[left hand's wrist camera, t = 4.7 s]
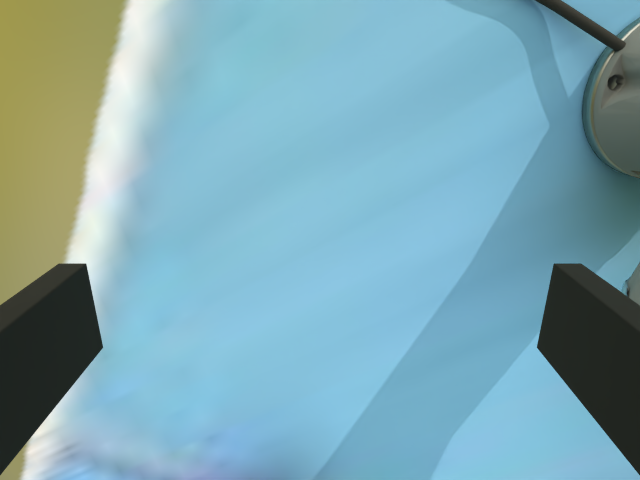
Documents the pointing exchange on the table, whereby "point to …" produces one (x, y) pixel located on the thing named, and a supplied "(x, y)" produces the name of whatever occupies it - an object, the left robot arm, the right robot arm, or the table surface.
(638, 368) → the left robot arm
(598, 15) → the table surface
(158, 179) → the table surface
